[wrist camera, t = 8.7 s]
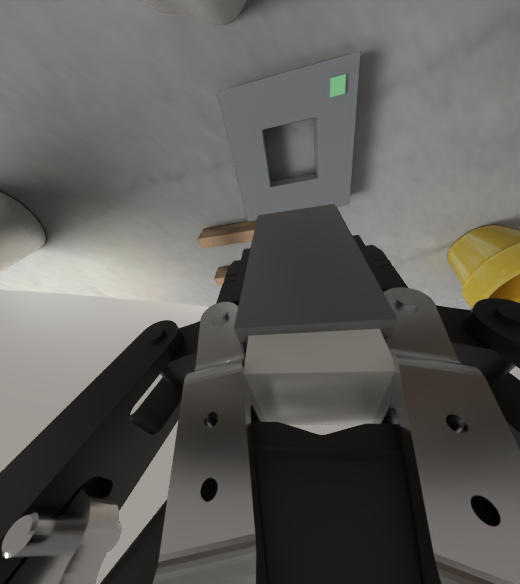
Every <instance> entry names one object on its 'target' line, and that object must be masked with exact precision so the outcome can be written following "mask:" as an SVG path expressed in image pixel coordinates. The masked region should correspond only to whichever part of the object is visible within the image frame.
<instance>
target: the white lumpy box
mask: <svg viewBox="0 0 520 584" xmlns="http://www.w3.org/2000/svg"><path fill="white" fill-rule="evenodd" d="M144 1H145V2H147V3H148V4H149V5H151V6H152V7H153V8H154V9H156V10H158V11H160V12H164V13H188V14H192V15H195V16H197V17H200V18H202V19H204V20H206V21H208V22H210V23H213V24H216V25H227V24H229V23H231V22H232V21H234V20H235V19H236V18H237V16H238V15H239V14H240V12H241V11H242V9H243V8H244V6H245V4H246V1H247V0H144Z"/></svg>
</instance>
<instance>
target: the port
mask: <svg viewBox="0 0 520 584" xmlns="http://www.w3.org/2000/svg"><path fill="white" fill-rule="evenodd" d="M360 52H361V51H359V52H355V53H352V54H348V55H345V56H341V57H338V58H334V59H331V60H327V61H324V62H320V63H317V64H313V65H310V66H306V67H302V68H299V69H295V70H292V71H288V72H285V73H281V74H278V75H274V76H271V77H267V78H264V79H260V80H257V81H253V82H250V83H246V84H243V85H239V86H236V87H232V88H229V89H225V90H222V91H218V92H217V95H218V99H219V103H220V107H221V112H222V116H223V120H224V124H225V128H226V132H227V137H228V141H229V145H230V149H231V153H232V158H233V162H234V166H235V170H236V174H237V178H238V183H239V187H240V191H241V195H242V199H243V203H244V208H245V212H246V216H247V220H248V221H254V220H257V216H258V215H263V214H269V213H276V212H283V211H289V210H296V209H303V208H309V207H316V206H323V205H329V204H335V205H336V207H338V206H344V205H349V203H350V189H351V175H352V162H353V148H354V134H355V121H356V107H357V93H358V80H359V66H360ZM313 117H314V144H315V173H311V174H306V175H301V176H296V177H291V178H286V179H281V180H276V181H271V178H270V172H269V165H268V158H267V152H266V145H265V138H264V131H263V130H264V129H268V128H272V127H276V126H280V125H284V124H289V123H293V122H297V121H301V120H305V119H309V118H313Z"/></svg>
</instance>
